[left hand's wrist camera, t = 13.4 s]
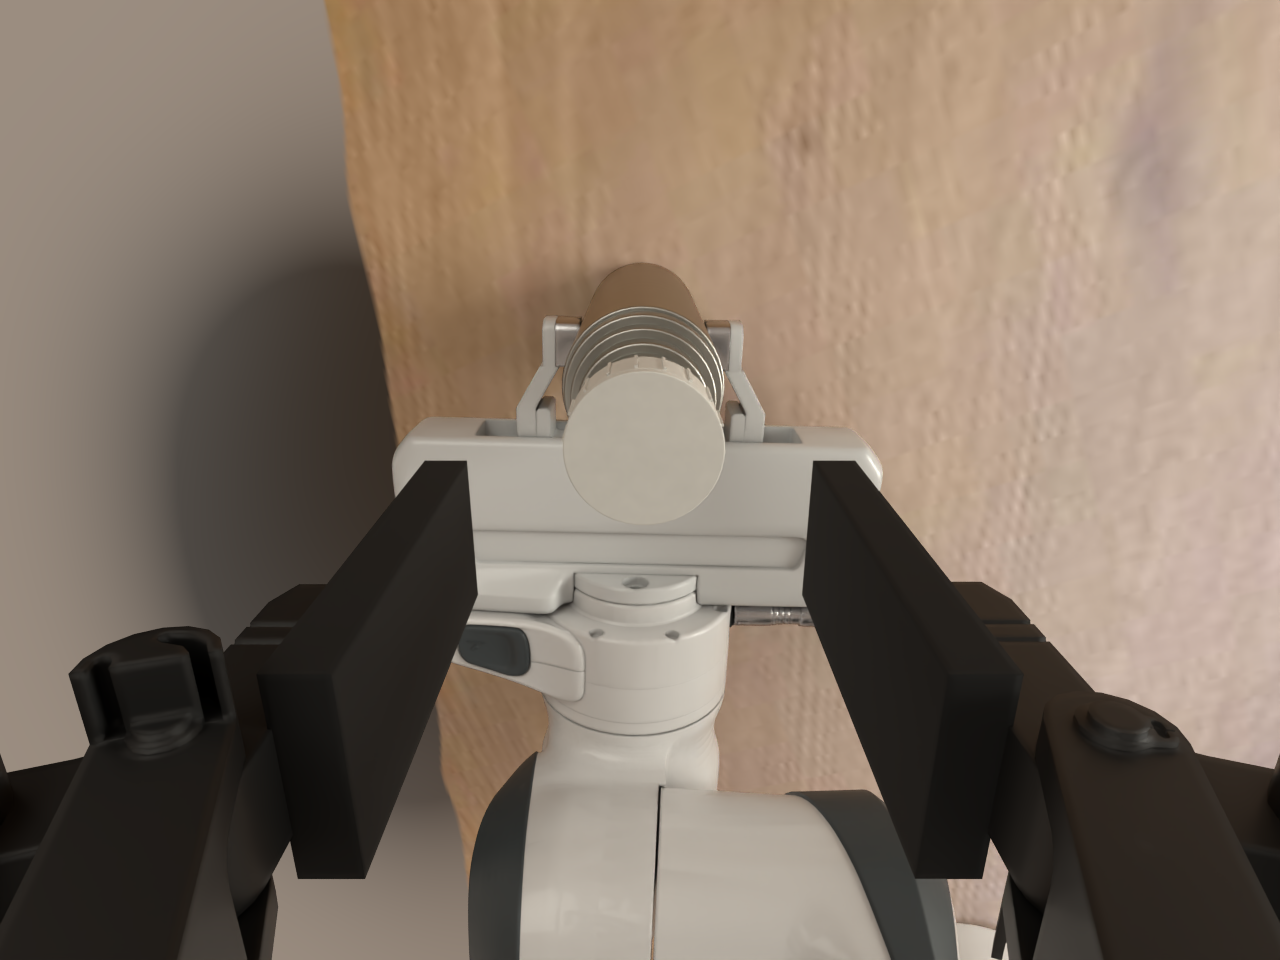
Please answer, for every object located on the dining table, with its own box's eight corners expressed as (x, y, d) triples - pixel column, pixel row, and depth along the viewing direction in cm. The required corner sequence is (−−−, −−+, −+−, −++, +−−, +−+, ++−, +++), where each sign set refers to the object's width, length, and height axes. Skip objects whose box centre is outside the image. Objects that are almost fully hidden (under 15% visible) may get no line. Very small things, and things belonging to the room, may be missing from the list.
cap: (736, 479, 21) (744, 504, 19) (591, 516, 21) (587, 544, 19) (700, 335, 19) (705, 349, 18) (546, 378, 20) (538, 395, 18)
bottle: (706, 353, 38) (768, 513, 19) (606, 380, 38) (574, 562, 20) (680, 249, 36) (721, 315, 18) (576, 279, 37) (510, 374, 18)
